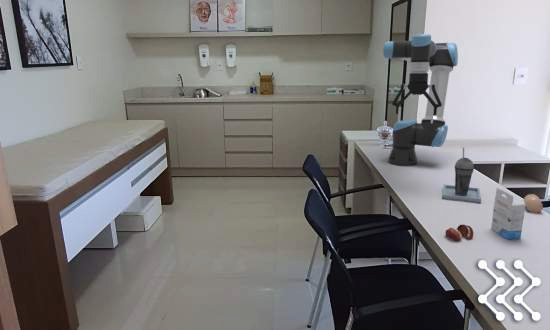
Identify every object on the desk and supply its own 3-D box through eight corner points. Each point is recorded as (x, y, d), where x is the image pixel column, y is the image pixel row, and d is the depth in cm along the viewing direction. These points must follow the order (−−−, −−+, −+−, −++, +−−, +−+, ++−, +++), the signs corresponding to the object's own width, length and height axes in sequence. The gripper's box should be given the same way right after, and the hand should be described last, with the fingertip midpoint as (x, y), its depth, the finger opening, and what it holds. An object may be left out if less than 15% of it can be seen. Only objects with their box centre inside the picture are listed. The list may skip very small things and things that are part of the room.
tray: (443, 188, 172) (443, 184, 172) (478, 192, 167) (479, 188, 166) (442, 198, 160) (442, 194, 159) (480, 203, 154) (481, 199, 154)
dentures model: (444, 224, 127) (463, 220, 129) (442, 235, 128) (461, 232, 130) (456, 231, 122) (477, 228, 124) (454, 243, 123) (474, 239, 125)
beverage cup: (472, 197, 159) (478, 150, 153) (453, 196, 160) (459, 149, 155) (468, 191, 166) (473, 145, 160) (449, 190, 167) (454, 145, 162)
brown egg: (530, 208, 151) (520, 199, 151) (542, 201, 148) (532, 191, 149) (533, 215, 145) (523, 205, 145) (546, 207, 142) (535, 197, 143)
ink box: (521, 238, 124) (528, 195, 120) (506, 239, 124) (513, 196, 120) (504, 227, 133) (510, 186, 129) (490, 228, 132) (495, 187, 128)
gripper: (387, 73, 167) (384, 122, 173) (450, 72, 157) (445, 124, 163) (390, 72, 174) (387, 119, 179) (451, 72, 164) (446, 122, 169)
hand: (415, 122), depth 171 cm, fingers open, 13 cm apart
